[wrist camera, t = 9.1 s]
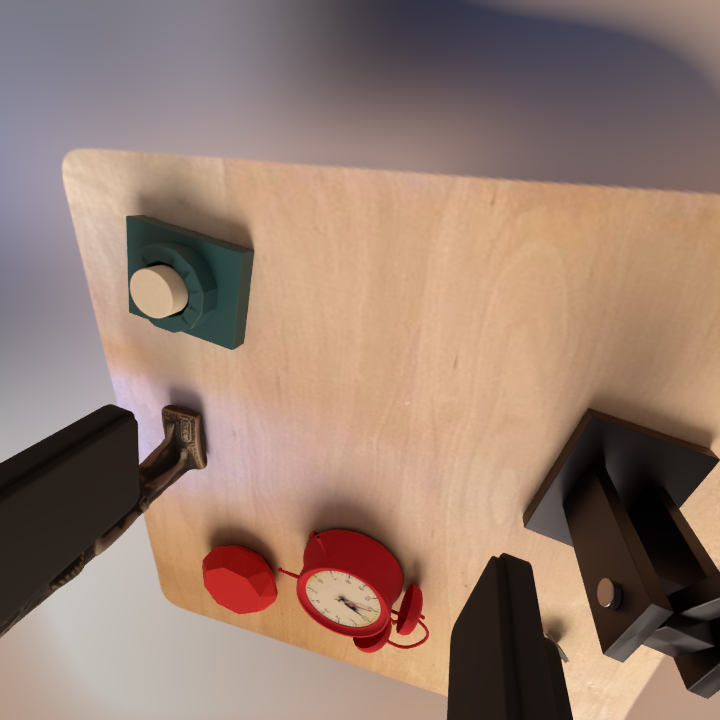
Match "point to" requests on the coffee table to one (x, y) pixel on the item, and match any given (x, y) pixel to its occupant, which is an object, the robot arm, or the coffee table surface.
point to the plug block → (195, 278)
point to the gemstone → (239, 579)
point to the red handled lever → (688, 617)
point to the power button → (159, 291)
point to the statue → (155, 476)
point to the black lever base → (630, 532)
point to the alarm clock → (356, 589)
